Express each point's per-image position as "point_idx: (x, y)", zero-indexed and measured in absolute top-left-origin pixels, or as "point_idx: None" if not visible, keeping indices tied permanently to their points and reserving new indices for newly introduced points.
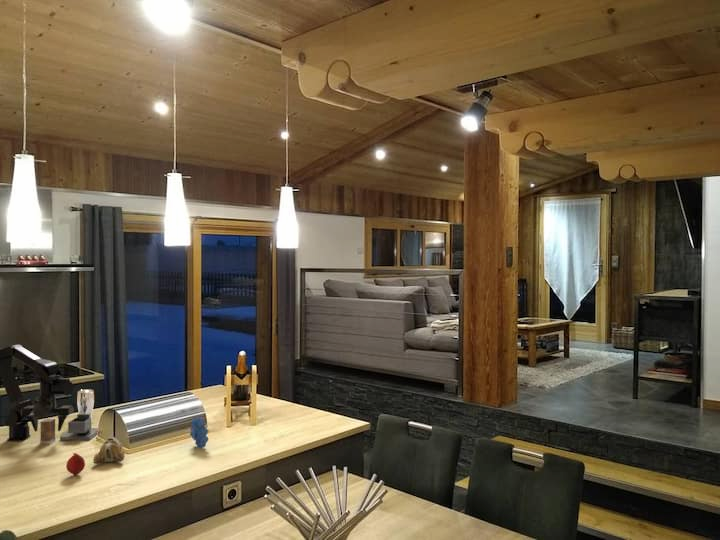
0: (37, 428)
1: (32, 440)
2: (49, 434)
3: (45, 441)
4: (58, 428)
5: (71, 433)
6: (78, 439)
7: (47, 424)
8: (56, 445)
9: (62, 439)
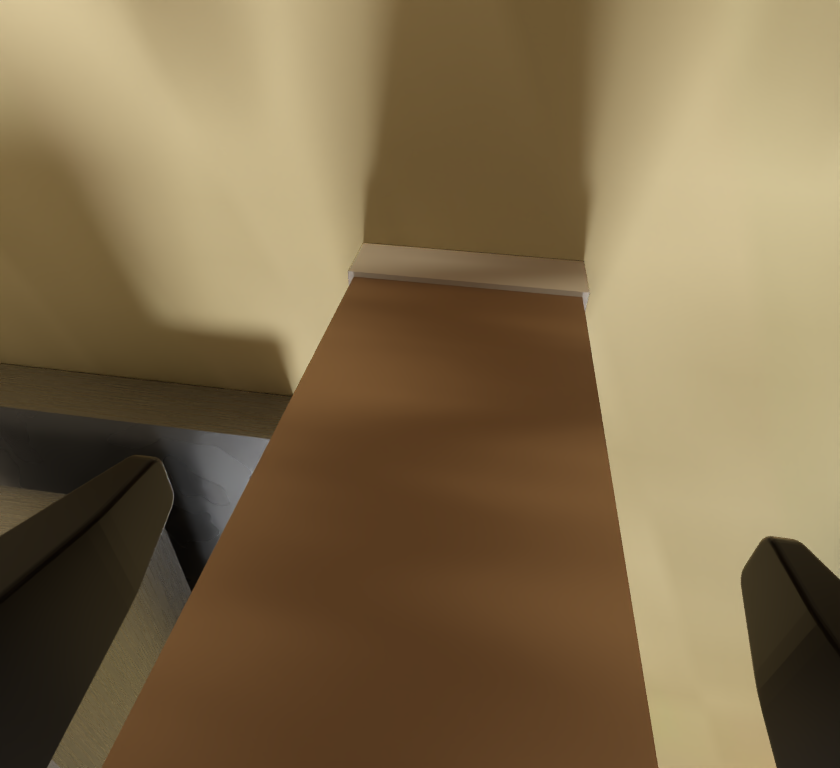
0: (749, 641)
1: (774, 461)
2: (344, 364)
3: (466, 273)
4: (89, 507)
5: (196, 544)
6: (4, 373)
7: (311, 658)
8: (179, 106)
9: (248, 402)
